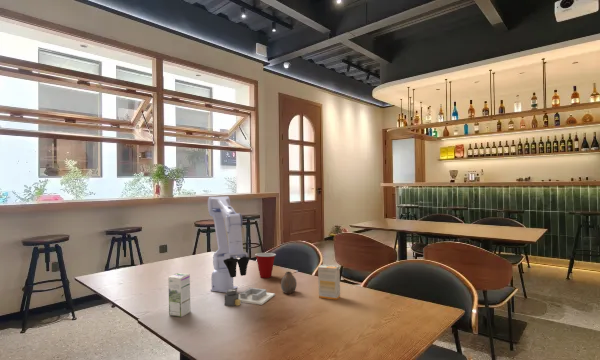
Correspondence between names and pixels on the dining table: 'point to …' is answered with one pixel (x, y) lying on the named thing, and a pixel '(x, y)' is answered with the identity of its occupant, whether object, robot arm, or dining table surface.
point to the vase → (288, 283)
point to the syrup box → (179, 294)
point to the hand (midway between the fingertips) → (238, 276)
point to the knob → (232, 298)
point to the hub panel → (255, 296)
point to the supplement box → (329, 281)
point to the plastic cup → (265, 264)
